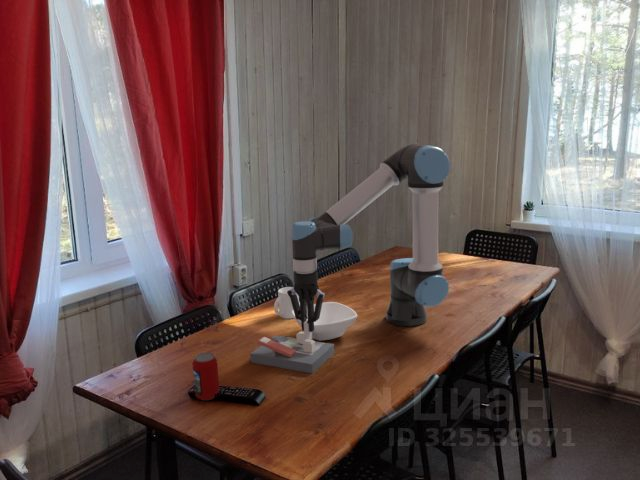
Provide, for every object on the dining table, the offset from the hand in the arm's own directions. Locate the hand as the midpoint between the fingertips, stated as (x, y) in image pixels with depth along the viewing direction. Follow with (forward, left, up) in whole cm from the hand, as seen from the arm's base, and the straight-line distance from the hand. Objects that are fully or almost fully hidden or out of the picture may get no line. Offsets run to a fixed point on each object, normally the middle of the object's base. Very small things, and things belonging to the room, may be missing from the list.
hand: (308, 340), depth 185 cm
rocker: (+6, +10, +1) cm, 12 cm away
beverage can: (+14, +36, -5) cm, 39 cm away
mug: (+23, -27, -5) cm, 36 cm away
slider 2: (-3, +5, -1) cm, 6 cm away
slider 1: (+2, 0, -1) cm, 3 cm away
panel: (+3, +5, -5) cm, 7 cm away
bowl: (+1, -15, -5) cm, 16 cm away
